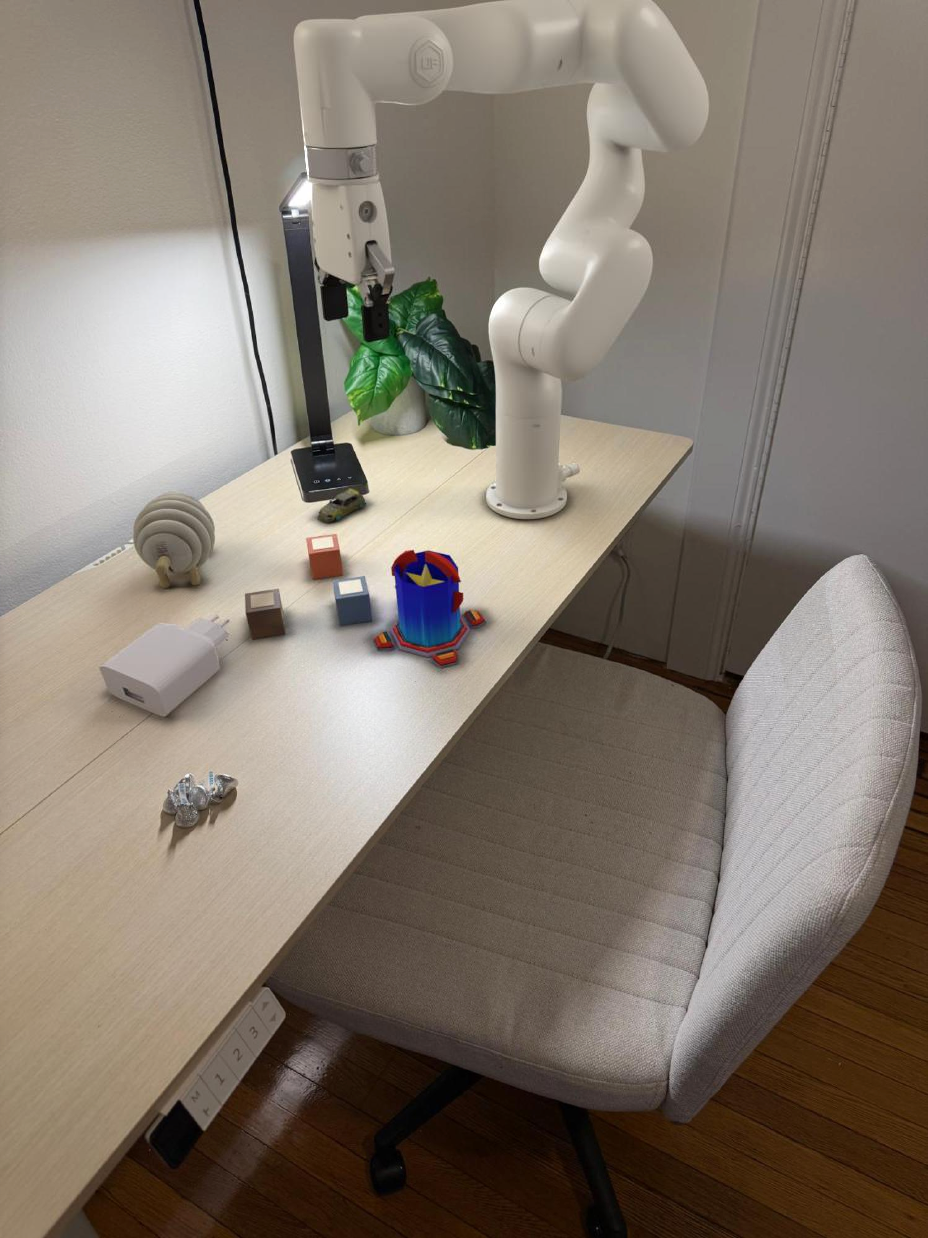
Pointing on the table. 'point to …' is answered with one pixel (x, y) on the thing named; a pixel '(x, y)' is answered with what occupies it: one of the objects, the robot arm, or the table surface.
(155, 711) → the charger
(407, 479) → the table surface
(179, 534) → the toy sheep
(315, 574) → the terracotta block
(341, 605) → the slate block
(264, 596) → the walnut block
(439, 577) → the fantasy tower
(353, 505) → the race car
